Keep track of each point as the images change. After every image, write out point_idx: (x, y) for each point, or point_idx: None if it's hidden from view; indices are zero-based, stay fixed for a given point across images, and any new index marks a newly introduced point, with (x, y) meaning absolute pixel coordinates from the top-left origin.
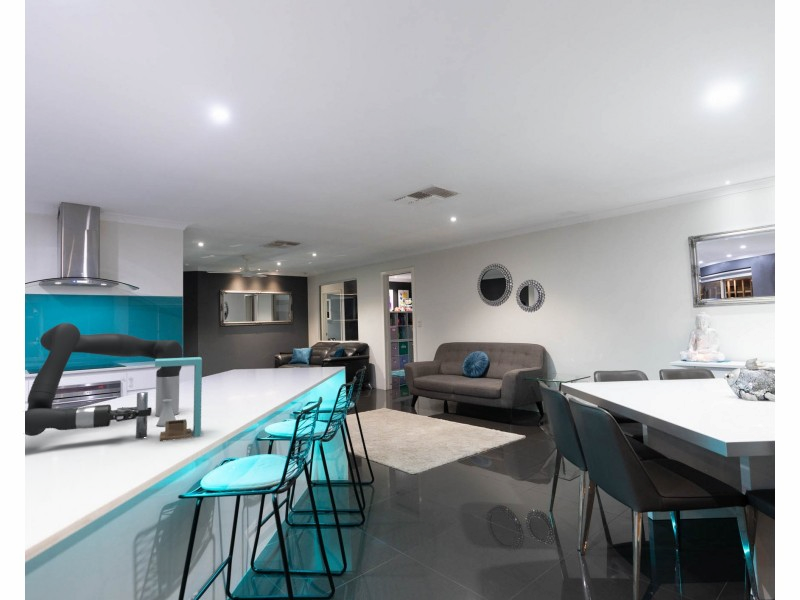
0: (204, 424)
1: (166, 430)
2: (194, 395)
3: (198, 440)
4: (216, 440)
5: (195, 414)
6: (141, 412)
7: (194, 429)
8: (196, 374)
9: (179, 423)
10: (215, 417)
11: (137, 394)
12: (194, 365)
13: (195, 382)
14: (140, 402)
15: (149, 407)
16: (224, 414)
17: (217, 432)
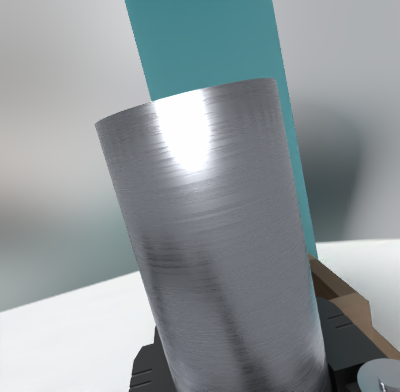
0: (116, 320)
1: (368, 328)
2: None
3: (375, 269)
4: (369, 240)
5: (306, 201)
6: (377, 350)
7: None
8: (272, 9)
9: (319, 267)
10: (25, 321)
11: (253, 101)
12: (128, 2)
13: (271, 54)
14: (304, 243)
15: (155, 332)
16: (5, 312)
17: None
